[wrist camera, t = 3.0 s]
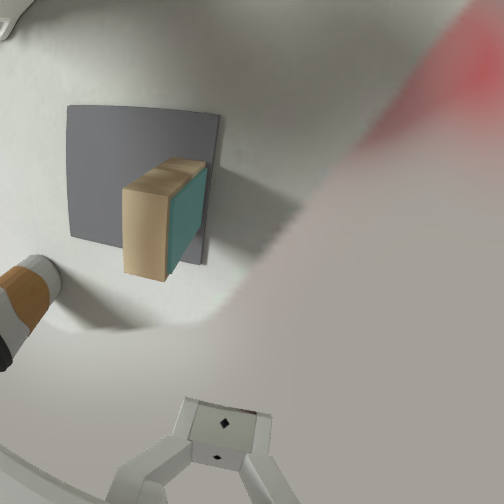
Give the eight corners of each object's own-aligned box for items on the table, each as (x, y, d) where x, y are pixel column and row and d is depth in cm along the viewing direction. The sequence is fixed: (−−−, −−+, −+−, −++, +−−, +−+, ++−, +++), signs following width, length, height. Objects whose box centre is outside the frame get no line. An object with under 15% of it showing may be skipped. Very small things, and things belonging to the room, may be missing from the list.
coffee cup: (14, 253, 34) (-58, 319, 21) (47, 238, 32) (-37, 313, 19) (43, 304, 37) (-16, 377, 24) (79, 296, 35) (14, 381, 22)
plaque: (167, 220, 28) (124, 272, 20) (172, 156, 25) (122, 188, 18) (201, 227, 28) (168, 283, 20) (209, 162, 25) (172, 197, 18)
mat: (73, 234, 31) (70, 236, 30) (70, 105, 24) (67, 105, 24) (201, 262, 31) (199, 265, 30) (219, 115, 24) (218, 115, 23)
